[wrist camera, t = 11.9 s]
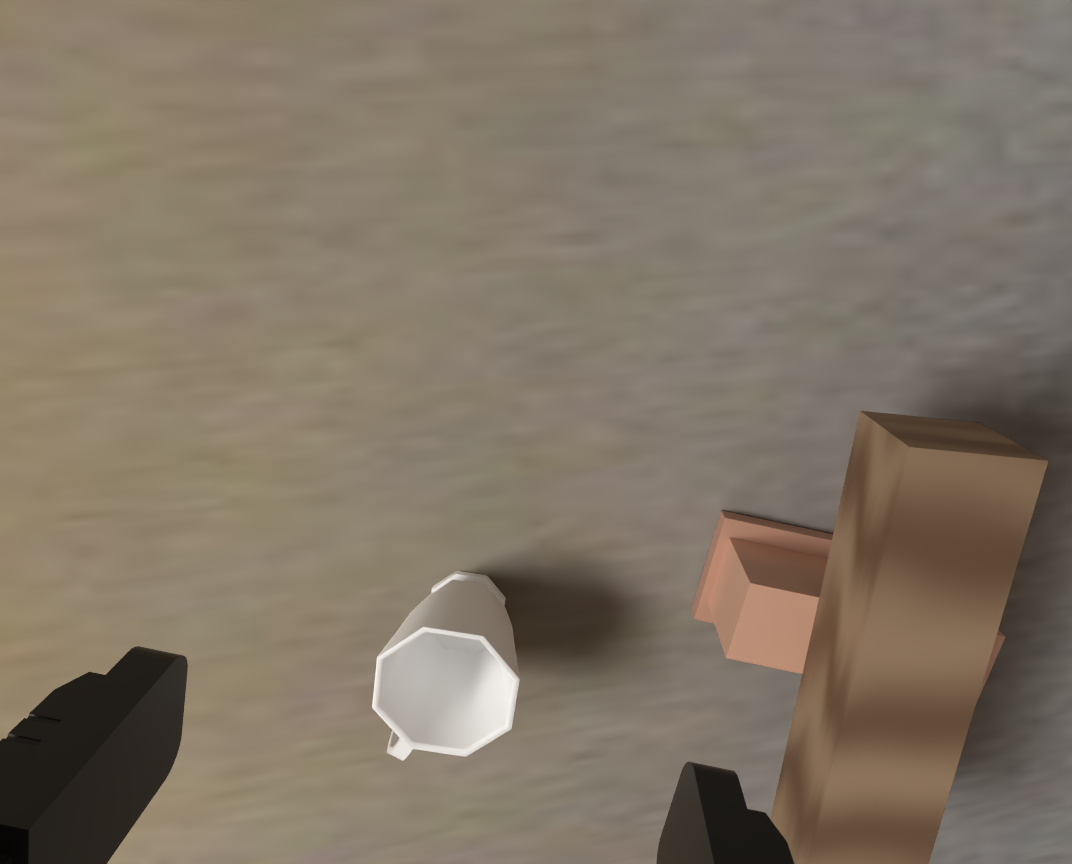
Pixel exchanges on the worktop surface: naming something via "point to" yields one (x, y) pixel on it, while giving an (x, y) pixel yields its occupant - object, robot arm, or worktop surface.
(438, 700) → the cup
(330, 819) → the worktop surface
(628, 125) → the worktop surface
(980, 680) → the walnut bar
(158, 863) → the worktop surface
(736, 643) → the ridge
